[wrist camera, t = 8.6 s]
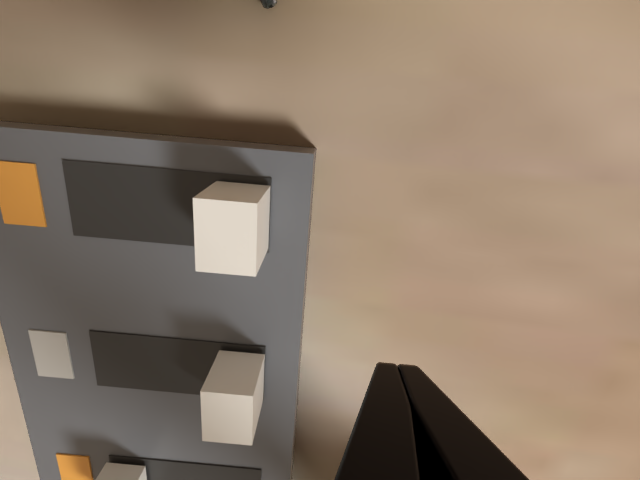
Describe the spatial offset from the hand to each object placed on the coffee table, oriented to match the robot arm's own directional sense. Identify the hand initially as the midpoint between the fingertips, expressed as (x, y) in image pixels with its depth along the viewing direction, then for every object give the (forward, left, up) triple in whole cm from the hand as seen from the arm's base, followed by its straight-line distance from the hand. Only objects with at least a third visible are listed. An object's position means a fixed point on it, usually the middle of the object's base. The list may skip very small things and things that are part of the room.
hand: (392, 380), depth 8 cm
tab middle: (-9, +5, -10) cm, 14 cm away
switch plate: (-9, +11, -12) cm, 18 cm away
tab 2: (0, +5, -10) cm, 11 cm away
